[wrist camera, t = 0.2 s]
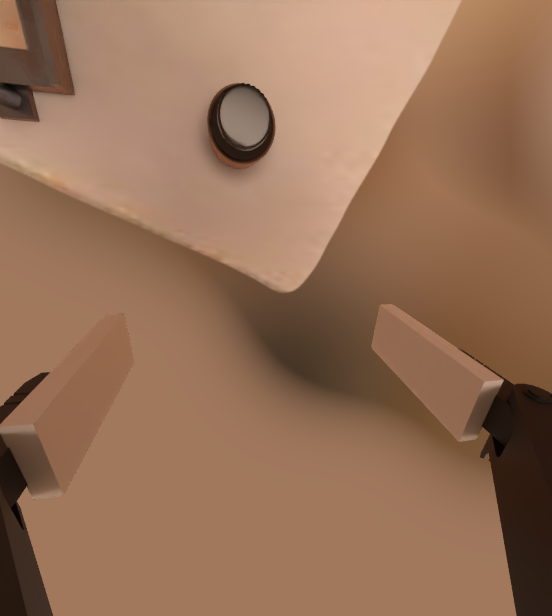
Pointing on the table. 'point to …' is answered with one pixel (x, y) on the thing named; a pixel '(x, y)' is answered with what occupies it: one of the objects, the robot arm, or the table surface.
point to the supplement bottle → (240, 125)
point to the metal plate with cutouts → (33, 47)
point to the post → (17, 103)
